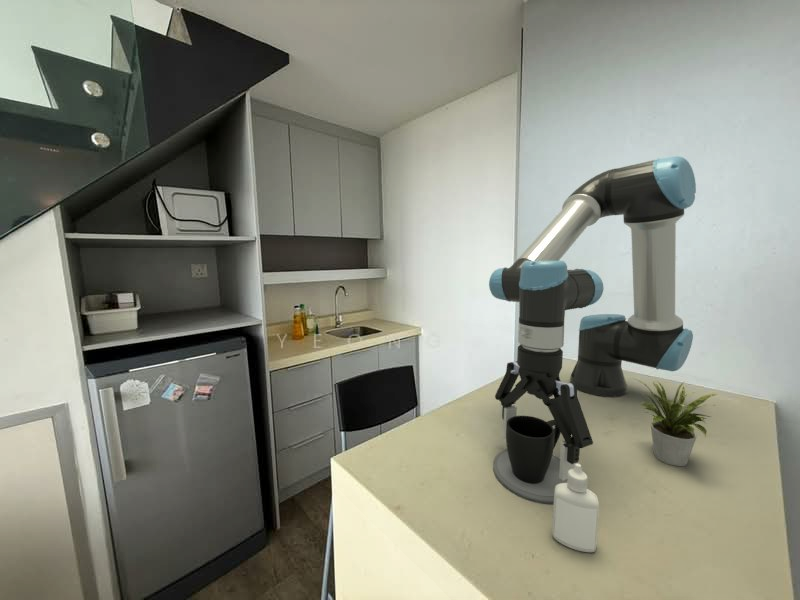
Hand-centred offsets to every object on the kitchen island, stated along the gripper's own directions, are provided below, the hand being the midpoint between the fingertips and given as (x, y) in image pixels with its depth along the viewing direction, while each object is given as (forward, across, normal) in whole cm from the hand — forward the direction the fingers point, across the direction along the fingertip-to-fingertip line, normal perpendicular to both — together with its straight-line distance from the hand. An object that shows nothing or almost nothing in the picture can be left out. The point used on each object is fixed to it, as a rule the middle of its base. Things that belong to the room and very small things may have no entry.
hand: (535, 455), depth 61 cm
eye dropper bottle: (+4, +13, -6) cm, 15 cm away
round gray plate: (+4, 0, 0) cm, 4 cm away
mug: (+3, 0, 0) cm, 3 cm away
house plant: (+4, +7, +28) cm, 29 cm away
